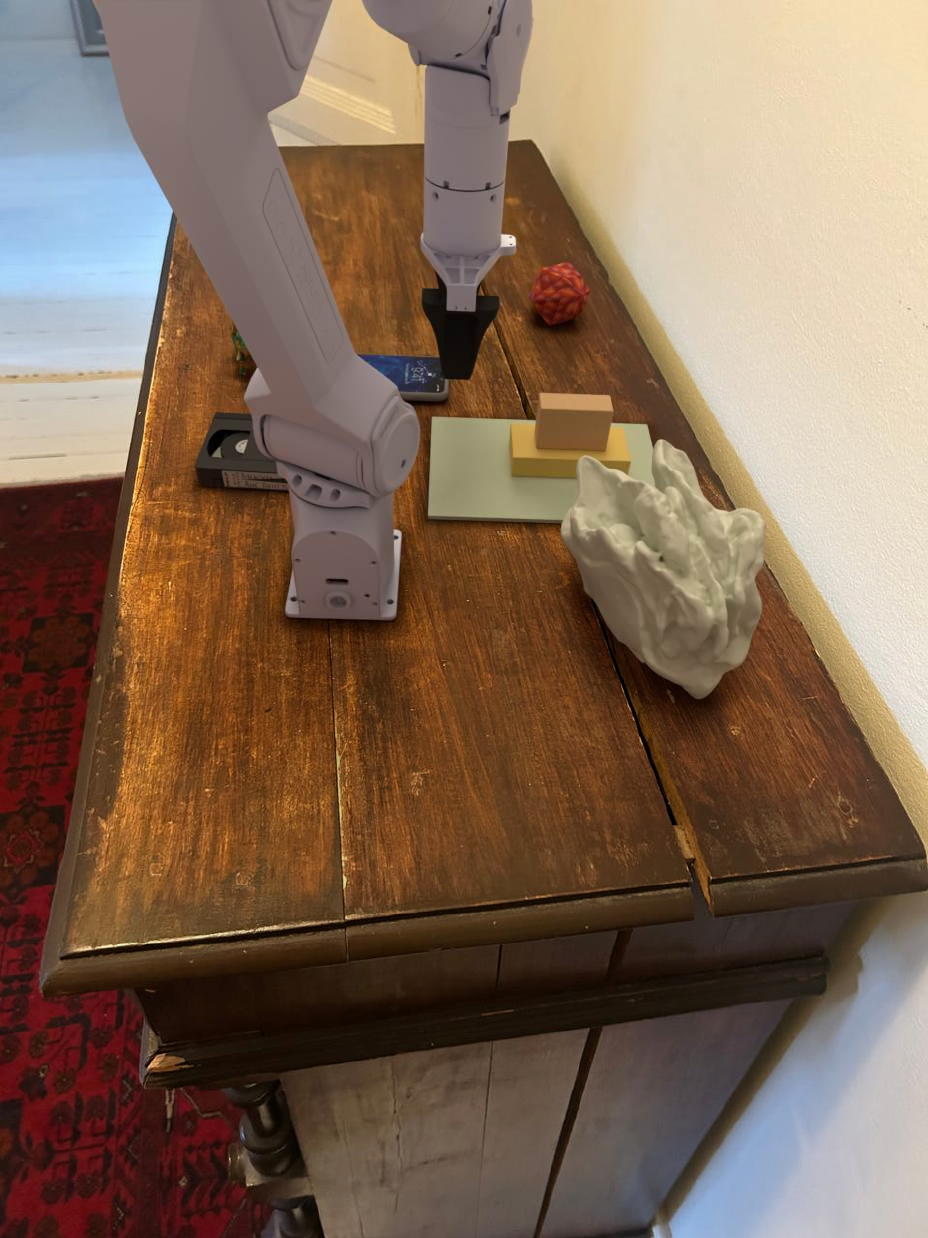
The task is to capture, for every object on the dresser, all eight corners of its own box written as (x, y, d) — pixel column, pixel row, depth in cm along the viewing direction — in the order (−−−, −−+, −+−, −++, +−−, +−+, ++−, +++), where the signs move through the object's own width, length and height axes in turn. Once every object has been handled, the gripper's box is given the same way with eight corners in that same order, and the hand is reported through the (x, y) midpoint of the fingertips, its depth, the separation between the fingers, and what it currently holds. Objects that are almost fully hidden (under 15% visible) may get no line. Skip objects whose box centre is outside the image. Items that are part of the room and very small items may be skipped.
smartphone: (297, 349, 86) (449, 355, 86) (298, 358, 86) (449, 364, 87) (286, 389, 80) (448, 395, 81) (287, 398, 81) (448, 404, 82)
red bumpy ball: (562, 322, 98) (606, 325, 92) (512, 325, 95) (553, 329, 89) (563, 261, 96) (608, 260, 89) (511, 262, 93) (554, 261, 86)
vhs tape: (197, 486, 72) (193, 466, 71) (219, 430, 78) (215, 411, 76) (368, 496, 72) (367, 477, 71) (378, 440, 78) (377, 421, 76)
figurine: (233, 392, 82) (219, 311, 76) (236, 327, 90) (223, 249, 84) (267, 390, 82) (255, 310, 76) (266, 326, 90) (256, 249, 84)
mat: (670, 527, 71) (672, 523, 71) (427, 519, 71) (427, 515, 70) (646, 427, 81) (647, 424, 81) (431, 419, 80) (431, 416, 80)
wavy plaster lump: (580, 638, 71) (543, 455, 66) (739, 605, 70) (716, 416, 64) (609, 757, 55) (563, 527, 49) (818, 718, 54) (797, 476, 48)
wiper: (626, 480, 75) (640, 421, 70) (511, 476, 74) (517, 416, 70) (619, 445, 78) (632, 387, 74) (508, 441, 78) (514, 382, 73)
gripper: (527, 221, 56) (509, 403, 66) (517, 140, 66) (503, 309, 76) (417, 217, 56) (416, 400, 66) (424, 136, 65) (422, 306, 75)
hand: (457, 351), depth 71 cm, fingers open, 7 cm apart
